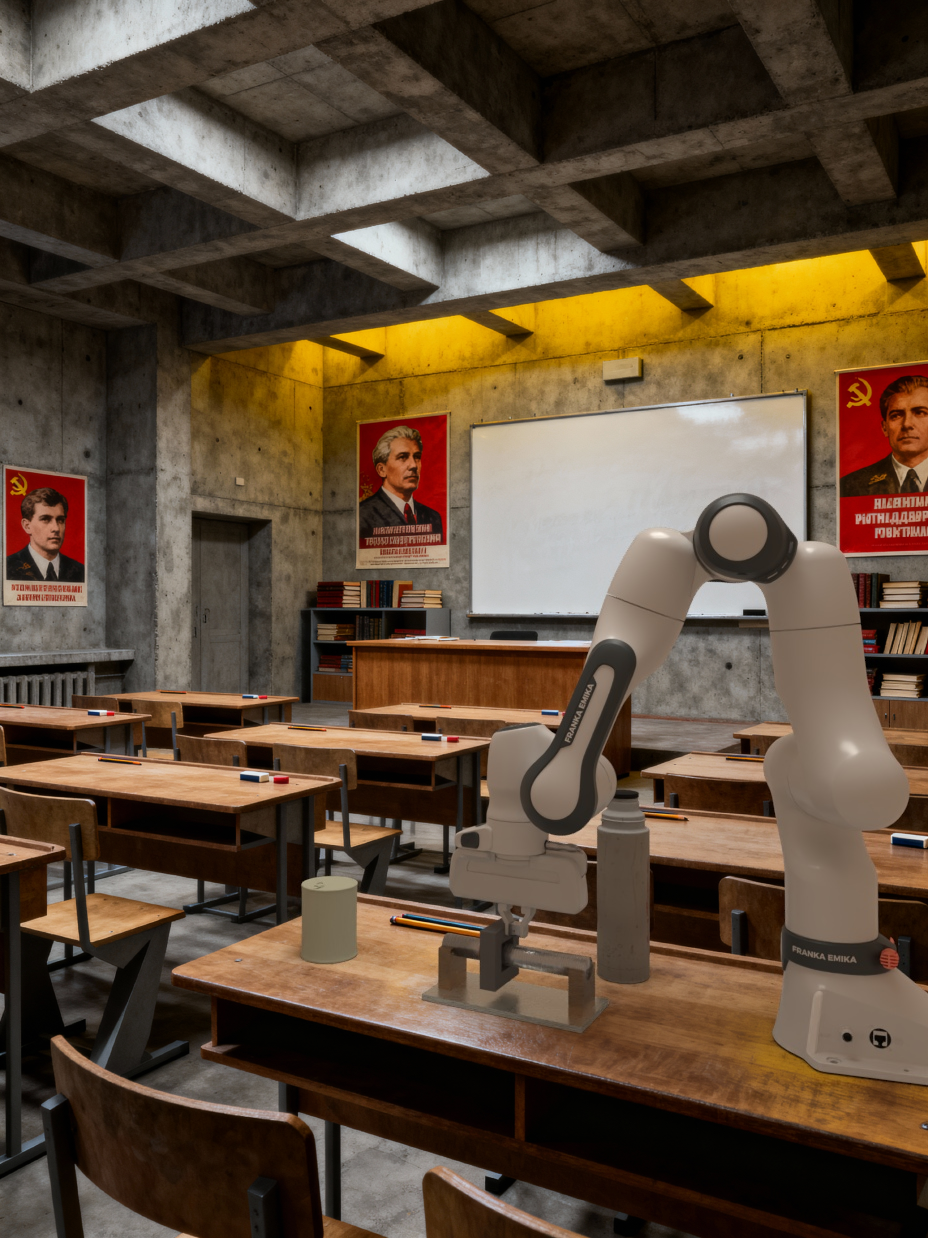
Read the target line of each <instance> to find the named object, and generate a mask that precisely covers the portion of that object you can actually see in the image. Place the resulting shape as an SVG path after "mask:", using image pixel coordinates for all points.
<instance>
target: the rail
mask: <svg viewBox="0 0 928 1238" xmlns="http://www.w3.org/2000/svg"><path fill="white" fill-rule="evenodd" d="M437 949H438V954H437V956H438V960H437V961H438V969H437V971H438V972H437V974H438V975H437V976H438V977H437V978H438V980H437V983H436V984H435V985H433V986H431V987H429V988H428V989H427V990H425V991H423V992H422V993H421V1001H426V1002H431V1003H436V1004H441V1005H446V1006H450V1007H454V1008H459V1009H465V1010H469V1011H474V1012H477V1013H483V1014H487V1015H493V1016H497V1017H501V1018H506V1019H511V1020H515V1021H519V1022H520V1021H522V1022H525V1023H530V1024H534V1025H538V1026H543V1027H549V1028H554V1029H559V1030H563V1031H567V1032H573V1033H576V1034H577V1033H578V1034H583V1032H584V1031H586V1029H588V1027H590V1025H591V1024H592V1023H593V1022H594V1021H595V1020H596V1019H597V1018H598V1017H599V1016H600V1015H601V1014H602V1012H604V1011H605V1009H606V1008H608V1006H609V1005H610V998H607V997H603V996H596V962H595V961H593V959H592V957H591V956H586V955H580V954H574V953H569V952H563V951H558V950H551V949H545V948H539V947H534V946H528V945H522V944H519V945H517V944H511V943H505V942H504V943H502V944H501V965H507V966H512V967H518V968H519V969H523V970H531V971H535V972H541V973H546V974H551V975H556V976H563V977H568V978H567V981H568V984H567V988H568V989H567V990H565V989H560V988H555V987H549V986H543V985H538V984H534V983H528V982H523V981H518V980H513V979H512V980H510V981H509V982H508V983H506V984H505V985H504V986H502V987H501V988H500V989H498V990H497V991H496V992H492V991H487V990H482V989H480V973H476V972H470V971H467V970H468V969H467V966H468V964H467V962H468V961H467V959H470V960H475V961H479V962H480V937H474V936H470V935H469V936H468V935H462V934H457V933H452V932H447V933H445V934H444V936H443V938H442V942H441V946H439V947H438V948H437Z"/></svg>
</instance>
